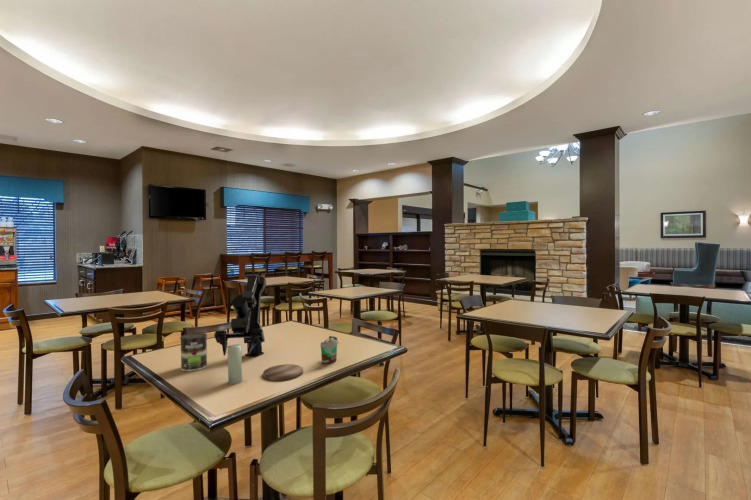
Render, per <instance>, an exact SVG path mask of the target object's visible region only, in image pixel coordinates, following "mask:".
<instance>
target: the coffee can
mask: <svg viewBox="0 0 751 500" xmlns="http://www.w3.org/2000/svg"><path fill="white" fill-rule="evenodd" d="M207 337H208V335H207V333H205V332H195V333H194V332H193V333H185V334H182V335H181V336H180V357H181V358H180V370H181V371H182V372H195V371H200V370H203V369H205V368H207V367H208V354H207V353H208V352H207V349H208V348H207V347H208V345H207V343H208V342H207Z"/></svg>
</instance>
